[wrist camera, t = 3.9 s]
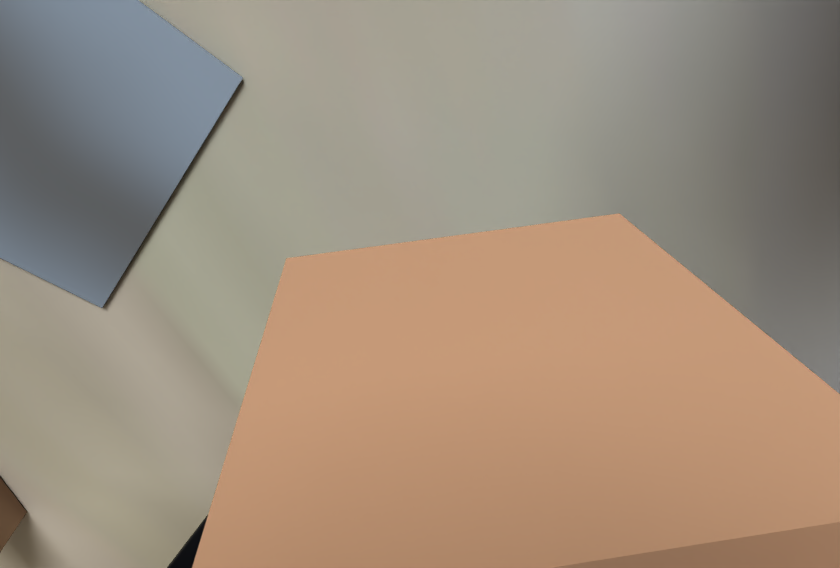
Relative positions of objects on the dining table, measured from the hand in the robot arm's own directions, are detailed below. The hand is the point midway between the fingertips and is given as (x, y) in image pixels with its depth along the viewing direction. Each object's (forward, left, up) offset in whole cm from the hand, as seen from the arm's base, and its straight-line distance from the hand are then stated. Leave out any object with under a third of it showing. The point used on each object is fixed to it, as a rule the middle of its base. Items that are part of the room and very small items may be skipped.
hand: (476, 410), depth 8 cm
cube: (0, 0, -1) cm, 1 cm away
